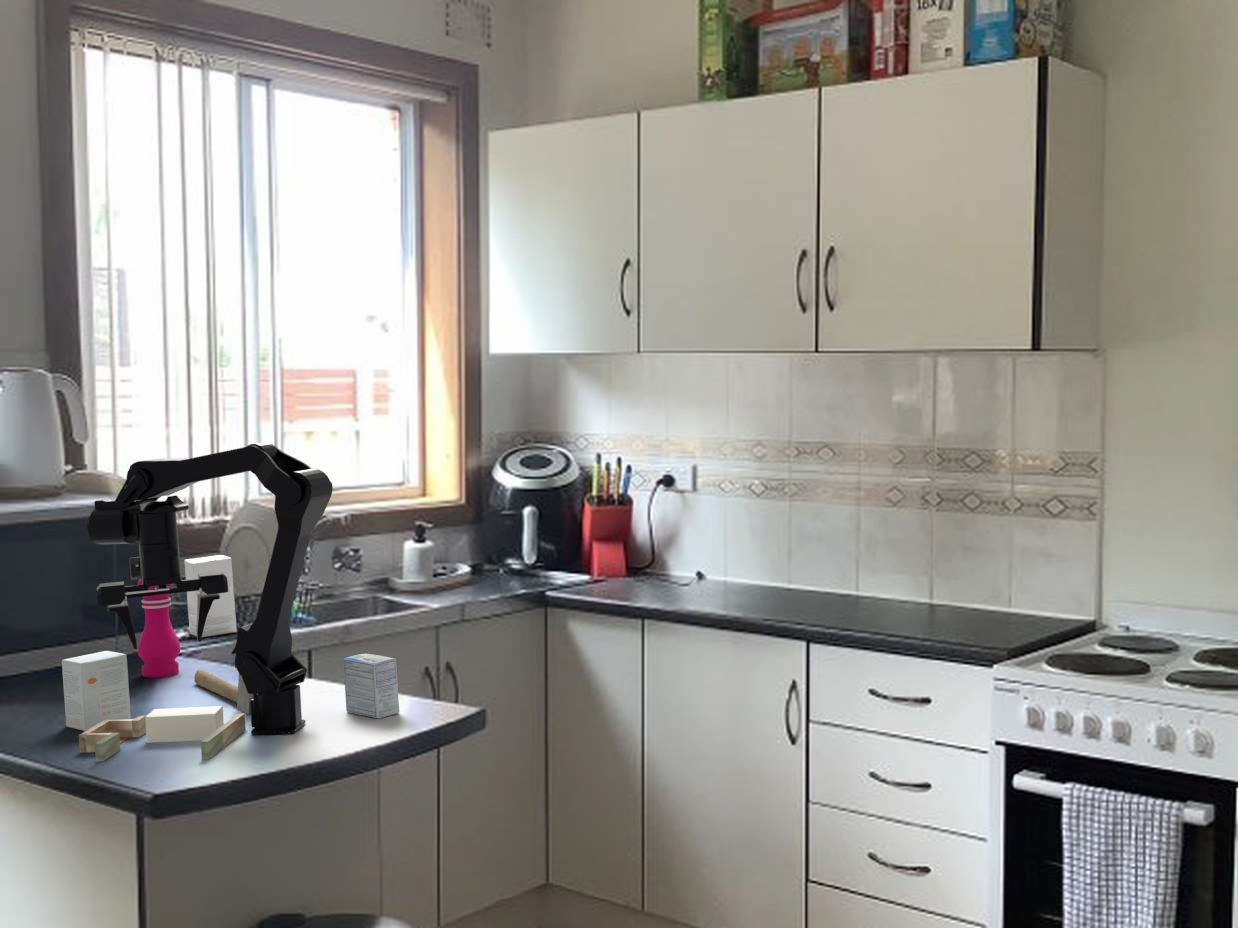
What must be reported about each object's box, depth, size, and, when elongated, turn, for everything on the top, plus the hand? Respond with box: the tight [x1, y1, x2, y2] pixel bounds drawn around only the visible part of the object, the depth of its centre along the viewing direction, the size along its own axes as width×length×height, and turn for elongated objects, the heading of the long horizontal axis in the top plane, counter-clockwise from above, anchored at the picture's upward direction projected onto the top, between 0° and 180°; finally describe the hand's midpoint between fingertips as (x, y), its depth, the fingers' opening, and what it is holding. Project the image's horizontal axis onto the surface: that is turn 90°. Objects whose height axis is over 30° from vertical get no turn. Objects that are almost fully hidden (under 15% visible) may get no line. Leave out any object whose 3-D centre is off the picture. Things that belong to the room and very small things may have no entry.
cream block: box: [145, 705, 225, 744], centre depth 218 cm, size 10×5×4 cm, turn 92°
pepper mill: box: [137, 579, 181, 679], centre depth 264 cm, size 7×7×20 cm
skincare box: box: [184, 554, 238, 638], centre depth 303 cm, size 8×7×16 cm
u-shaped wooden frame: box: [78, 712, 247, 762], centre depth 213 cm, size 20×16×2 cm
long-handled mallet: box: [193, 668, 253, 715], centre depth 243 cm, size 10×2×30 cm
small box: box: [61, 650, 132, 732], centre depth 228 cm, size 8×6×10 cm
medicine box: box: [343, 653, 400, 720], centre depth 228 cm, size 8×4×9 cm, turn 47°
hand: (167, 644), depth 225 cm, fingers open, 9 cm apart
